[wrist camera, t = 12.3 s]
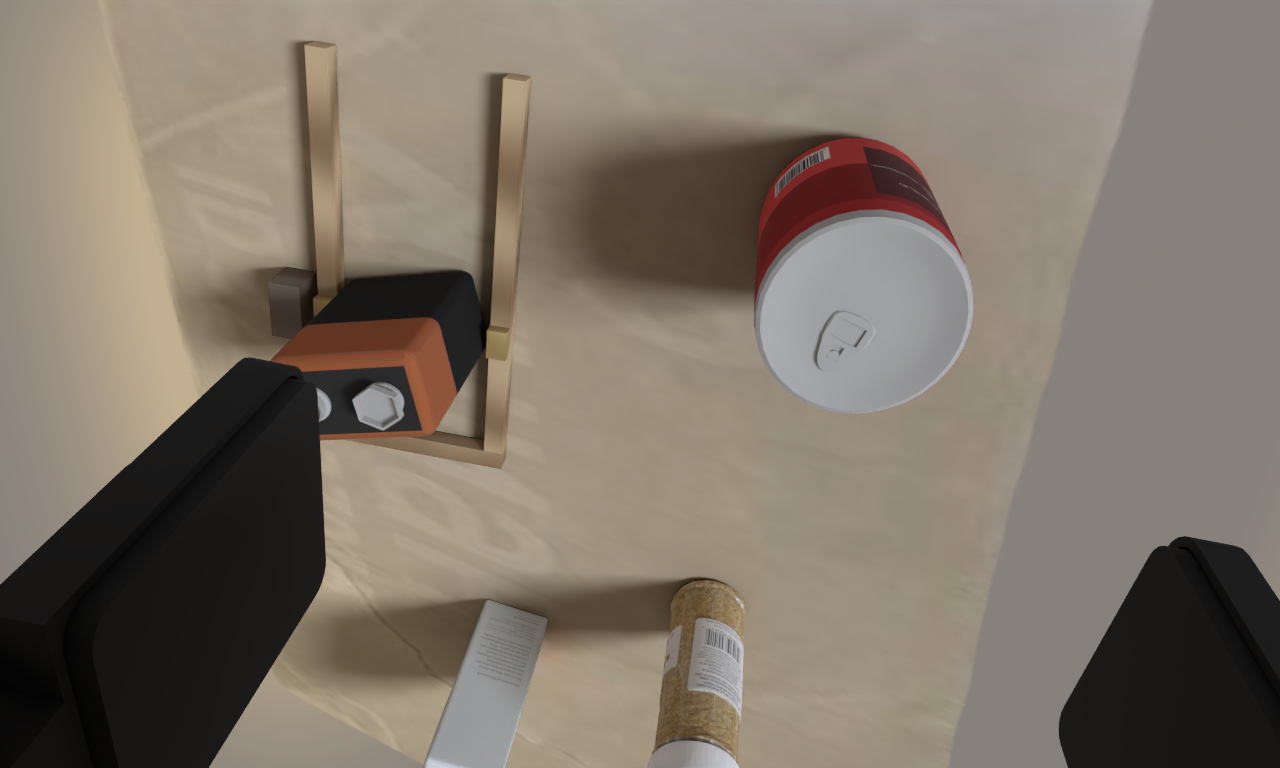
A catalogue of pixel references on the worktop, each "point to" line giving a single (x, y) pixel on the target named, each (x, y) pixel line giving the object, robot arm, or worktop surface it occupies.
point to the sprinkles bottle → (701, 679)
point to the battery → (390, 354)
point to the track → (298, 288)
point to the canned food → (858, 279)
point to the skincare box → (488, 690)
